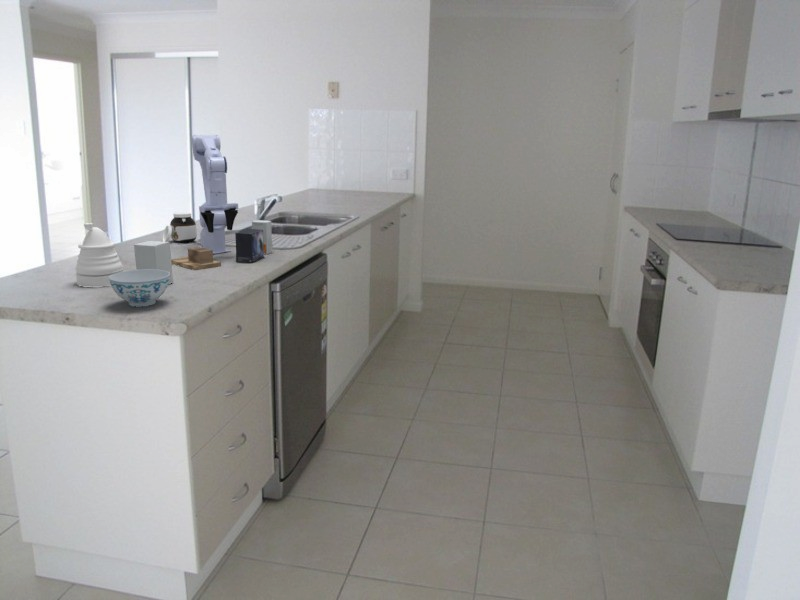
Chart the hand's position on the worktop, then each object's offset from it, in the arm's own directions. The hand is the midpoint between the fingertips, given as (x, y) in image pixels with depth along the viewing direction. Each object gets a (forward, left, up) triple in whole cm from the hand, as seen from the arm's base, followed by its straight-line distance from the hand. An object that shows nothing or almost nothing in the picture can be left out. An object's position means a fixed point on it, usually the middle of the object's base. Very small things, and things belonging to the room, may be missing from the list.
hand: (220, 231), depth 233 cm
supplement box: (+20, -36, -10) cm, 42 cm away
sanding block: (+6, -12, -9) cm, 16 cm away
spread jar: (-41, +7, -10) cm, 43 cm away
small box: (+9, +6, -10) cm, 15 cm away
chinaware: (+37, -49, -10) cm, 62 cm away
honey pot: (+6, -46, -10) cm, 47 cm away
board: (+2, -12, -10) cm, 16 cm away
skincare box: (+1, +17, -10) cm, 20 cm away
